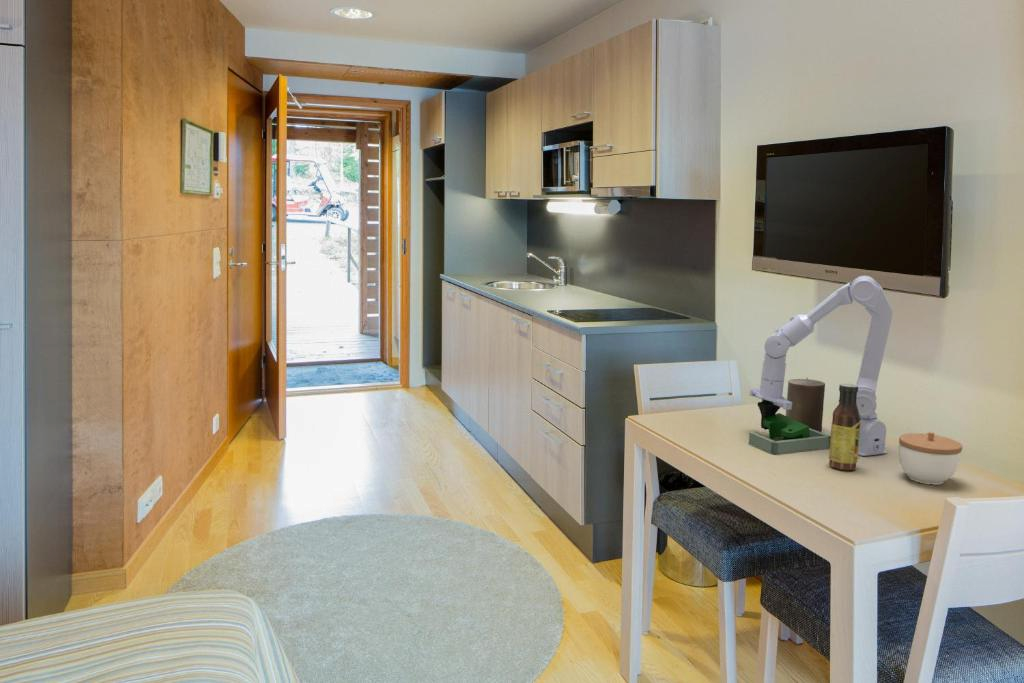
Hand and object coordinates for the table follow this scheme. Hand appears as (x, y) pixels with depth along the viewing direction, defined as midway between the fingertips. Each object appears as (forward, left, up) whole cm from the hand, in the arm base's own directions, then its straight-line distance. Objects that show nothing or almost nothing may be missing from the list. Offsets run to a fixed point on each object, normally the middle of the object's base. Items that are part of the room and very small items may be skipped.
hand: (766, 428), depth 209 cm
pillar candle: (+3, -15, -3) cm, 15 cm away
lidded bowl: (-39, -13, -3) cm, 41 cm away
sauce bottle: (-26, -1, -3) cm, 26 cm away
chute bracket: (-8, -1, -2) cm, 8 cm away
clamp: (-6, -1, -2) cm, 6 cm away
